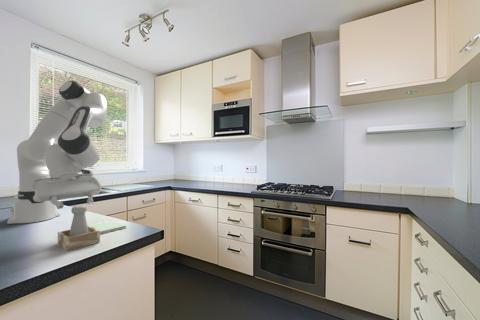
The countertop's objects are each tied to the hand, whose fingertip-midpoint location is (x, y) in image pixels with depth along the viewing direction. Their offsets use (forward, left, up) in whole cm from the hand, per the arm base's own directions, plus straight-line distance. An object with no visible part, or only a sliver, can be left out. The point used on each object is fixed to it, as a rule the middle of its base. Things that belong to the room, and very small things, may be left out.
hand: (76, 205), depth 80 cm
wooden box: (+5, -1, -12) cm, 14 cm away
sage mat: (-6, +11, -12) cm, 18 cm away
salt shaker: (+5, -1, -13) cm, 14 cm away
